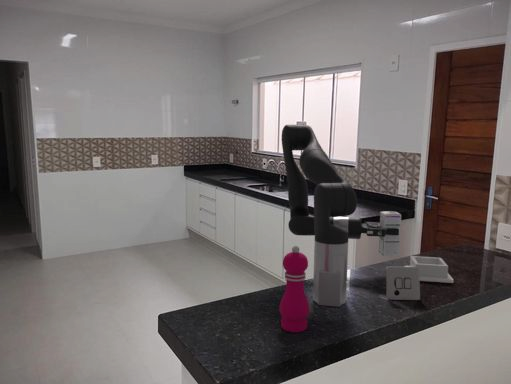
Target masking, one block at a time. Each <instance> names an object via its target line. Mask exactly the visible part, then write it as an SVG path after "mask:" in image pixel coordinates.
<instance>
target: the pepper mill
mask: <svg viewBox="0 0 511 384" xmlns="http://www.w3.org/2000/svg"><path fill="white" fill-rule="evenodd" d="M282 266H283V269H284V270H285V271H284V279H285V282H286V285H285V286H286V287H285V290H284V293H283V296H282V297H281V300H280V304H279V309H278V310H279V313H280V316H281V320H280V322H281V323H280V324H281V325H280V327H281V328H282V329H283V330H284V331H286V332H290V333H301V332H304V331H306V330H307V328H308V319H307V317H308V316H309V315H310V303H309V301H308V298H307V296H306V294H305V293H306V292H305V285H304V282H305V280H306V272H305V271H306V270H307V269H308V267H309V260H308V257H307V256H306V255H305V254H304V253H303V252H300V247H299V246H297V245H294V246H293V247H292V248H291V252H289V253H287V254H286V255H285V256H284V257H283V260H282Z"/></svg>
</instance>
